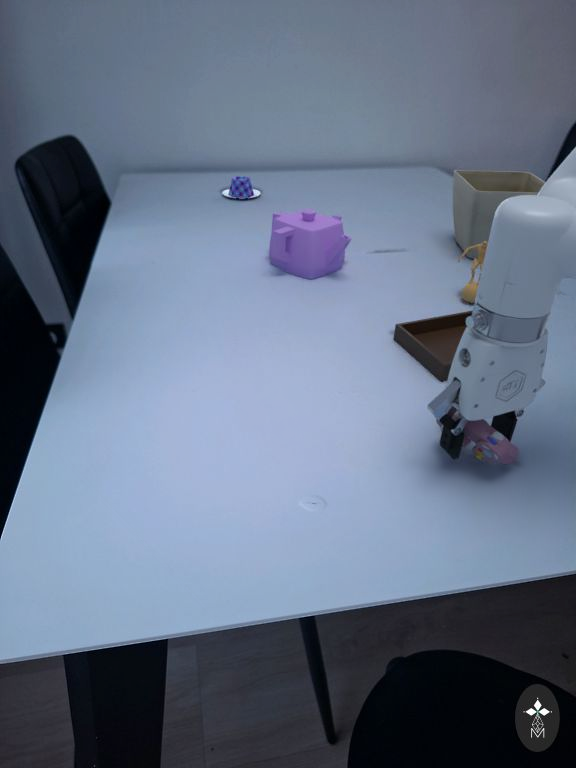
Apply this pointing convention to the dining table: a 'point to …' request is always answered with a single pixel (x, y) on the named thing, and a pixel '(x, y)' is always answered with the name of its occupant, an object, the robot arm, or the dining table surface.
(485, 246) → the figurine
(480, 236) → the flower pot
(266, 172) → the dining table surface
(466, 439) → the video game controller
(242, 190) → the pudding
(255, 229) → the dining table surface
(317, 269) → the teakettle
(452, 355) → the tray
